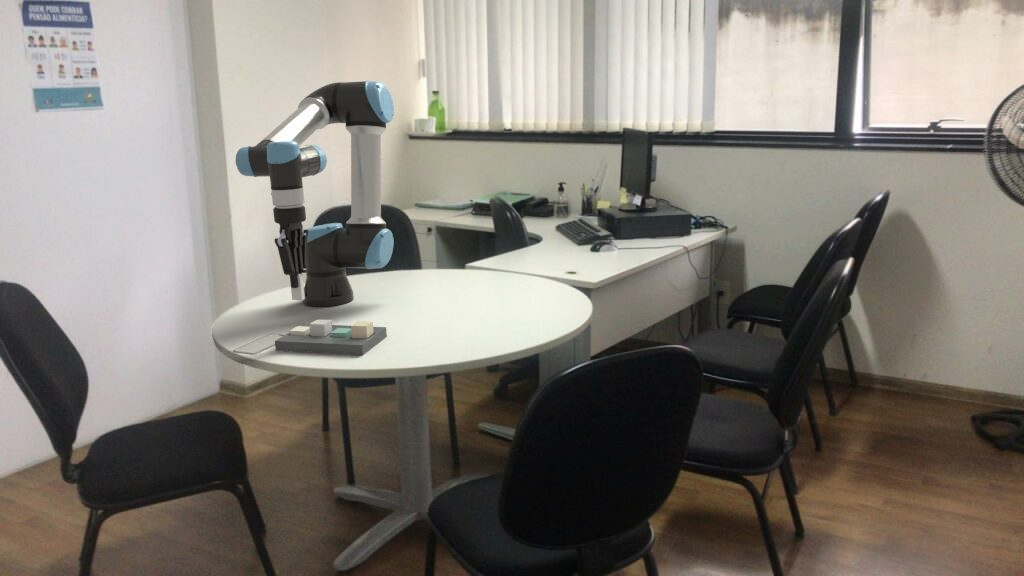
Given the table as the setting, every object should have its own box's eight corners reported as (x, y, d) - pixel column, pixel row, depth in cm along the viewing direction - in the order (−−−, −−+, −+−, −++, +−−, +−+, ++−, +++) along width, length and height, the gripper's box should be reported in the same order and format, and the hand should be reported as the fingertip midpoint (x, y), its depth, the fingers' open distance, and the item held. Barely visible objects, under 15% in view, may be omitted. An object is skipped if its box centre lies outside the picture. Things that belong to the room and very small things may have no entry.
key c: (338, 339, 201) (337, 327, 200) (353, 340, 200) (352, 328, 199) (331, 344, 197) (330, 332, 196) (346, 345, 196) (345, 333, 196)
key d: (358, 333, 199) (357, 321, 198) (373, 333, 198) (372, 321, 198) (352, 337, 195) (351, 325, 195) (367, 338, 194) (366, 326, 194)
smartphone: (230, 350, 195) (271, 333, 209) (230, 353, 195) (271, 335, 209) (254, 353, 192) (294, 336, 206) (254, 356, 192) (294, 338, 206)
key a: (298, 337, 203) (297, 326, 203) (312, 338, 203) (311, 326, 202) (290, 342, 200) (289, 330, 199) (305, 343, 199) (304, 331, 198)
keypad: (304, 332, 209) (304, 323, 208) (386, 336, 204) (386, 327, 203) (275, 350, 195) (274, 341, 194) (363, 355, 190) (362, 345, 189)
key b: (317, 331, 202) (316, 319, 201) (332, 331, 201) (331, 320, 200) (310, 335, 198) (309, 323, 197) (325, 336, 197) (324, 324, 196)
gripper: (288, 201, 200) (297, 292, 206) (260, 210, 188) (271, 306, 194) (315, 201, 198) (324, 292, 204) (289, 210, 186) (299, 307, 192)
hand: (298, 299), depth 199 cm, fingers closed
